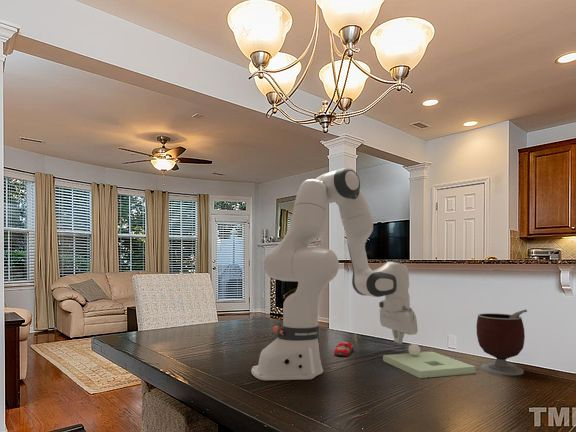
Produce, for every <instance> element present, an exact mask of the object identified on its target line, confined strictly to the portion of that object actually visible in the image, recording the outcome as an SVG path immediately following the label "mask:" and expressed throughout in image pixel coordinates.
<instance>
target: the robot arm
mask: <svg viewBox="0 0 576 432" xmlns="http://www.w3.org/2000/svg"><path fill="white" fill-rule="evenodd" d="M332 203H335V204H336V205H337V206H338V210H339V214H340V220H341V223H342V226H343V230H344V233H345V237H346V242H347V243H346V244H347V248H348V252H349V256H350V263H351V267H352V277H351V279H352V281H351V284H352V285H351V286H352V289H354V291H355V292H356V293H357V294H358V295H360V296H364V297H365V296H368V297H375V298H380V297H385V298H384V299H382V301H381V300H380V301H379V302H378V306H379V308H380V309H379V323H380V325H381V327H384V328H387V329H390V330H391V333H392V336H393V338H394V339H393V341H394V343H397V344H399V345H400V344H403V343H404V342H403V339H404V337H405V335H408V336H409V335H412V336H413V335H417V334H418V331H419V329H418V322H417V321H418V320H417V317H416V314H415V312H414V310H413V308H412V307H411V306H410V305H411V304H410V300H411V298H410V294H409V288H410V277H409V270H408V267H407V265H406V264H405V263H403V262H399V261H394V260H393V261H392V260H391V261H390V260H389V261H386V263H384V264H383V265H382V266H380V267H378V268H376V269H374V270H373V269H371V268H370V265H369V262H368V261H369V260H368V256H367V251H366V243H367V241H368V238H370V236H371V234H372V233H373V231H374V222H373V216H372V213H371V210H370V207H369V204H368V201H367V200H366V197H365V195H364V193H363V191H362V190H361V181H360V177H359V175H358V173H356V171H355V170H353V168H350V167H342V168H341V167H340V168H338V169H336V170H332V171H329V172H324V173H323V174H321V175H319V176H317V177H314V178H308V179H305V180H304V181H303V182H302V183H301V184H300V186H299V188H298V191H297V193H296V197H295V199H294V205H293V210H292V214H291V219H290V223H289V226H288V229H287V231H286V234H285V235H284V237H283V238H282V239H281V241H280V242H279V243H278V244H277V245H276V246H275V247H273V249H271V250H269V252H268V253H266V256H265V258H264V263H263V265H264V266H263V267H264V270H265V273H266V274H267V276H268V277H269V278H271V279H274V280H279V281H281V282H297V288H296V290H295V292H293V293H291V294H290V295H288V296H287V297H285V300H284V301H283V304H282V305H283V306H282V307H283V309H282V310H283V312H282V313H283V314H282V315H283V316H282V318H283V319H282V321H283V322H282V323H283V324H282V325H281V326H280V327H279V326H278V325H274V326H273V328H272V331H273V332H274V333H275V334H276V337H277V338H275V339H274V340H272V341H271V343H269V344H268V345H267V346H265V347H264V348H263V349H262V350H261V352H260V353H259V357H258V358H259V359H258V364H257V365H253V366H252V367H251V370H250V372H251V375H252V376H254V378H256V379H258V380H261V381H290V380H295V381H297V380H313V379H314V378H315V377H317V376H319V375H321V374H323V372H324V369H323V365H322V361H321V356H320V355H321V354H320V349H319V343H320V336H321V335H320V332H321V331H320V325H318V324H319V302H320V299H321V295H322V292H323V291H324V289H325V287H326V286H327V285H328V284H329V283H330V282H331V281H333V279H334V278H335V277H336V276H337V274H338V272H339V268H340V264H339V263H340V262H339V258H338V255H337V254H336V253H335V252H334V251H333V250H332V249H327V248H323V247H309V246H310V244H311V243H312V242H314V241H315V240H317V239H319V238H320V237H321V236H322V234H323V232H324V226H325V221H326V219H325V218H326V214H327V207H328V206H327V205H328V204H332Z"/></svg>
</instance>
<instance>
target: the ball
mask: <svg viewBox="0 0 576 432" xmlns="http://www.w3.org/2000/svg"><path fill="white" fill-rule="evenodd" d="M420 352H421V347H420V346H419V345H418V344H416V343H412V344H410V345H409V346H408V353H410V354H411V355H413V356H417V355H419V353H420Z"/></svg>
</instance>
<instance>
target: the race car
mask: <svg viewBox="0 0 576 432" xmlns="http://www.w3.org/2000/svg"><path fill="white" fill-rule="evenodd" d="M335 347H336V348H335V349H334V351H333V354H334V356H338V357H349V355H351V354H352V353H353V352H354V345H353V343H352V342H348V341H341V342H339V343H338V345H336V346H335Z"/></svg>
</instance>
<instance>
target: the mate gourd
mask: <svg viewBox="0 0 576 432" xmlns="http://www.w3.org/2000/svg"><path fill="white" fill-rule="evenodd" d="M527 312H528V310H527V309H523V310H520V311H517V312H515V313H513V314H509V313H492V312H491V313H490V312H489V313H485V312H484V313H478V314H477V319H476V338H477V342H478V344H479V346H480V348H481V350H483V352H484V353H486V354H488V355H490V356H492V357H493V358H495V362H489V363H482V364H481V365H480V369H481V370H482V371H484V372H486V373H491V374H494V375H499V376H521V375H524V369H523V368H521V367H520V366H519V367H518V366H516V365H513V364H512V365H511V364H508V362H507V360H508V359H510V358H513V357H516V356H518V355H520V353H521V352H522V351H523V348H524V346H525V325H524V321H523V319H522V318H523V317H522V316H521V315H522V314H523V313H527Z"/></svg>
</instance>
